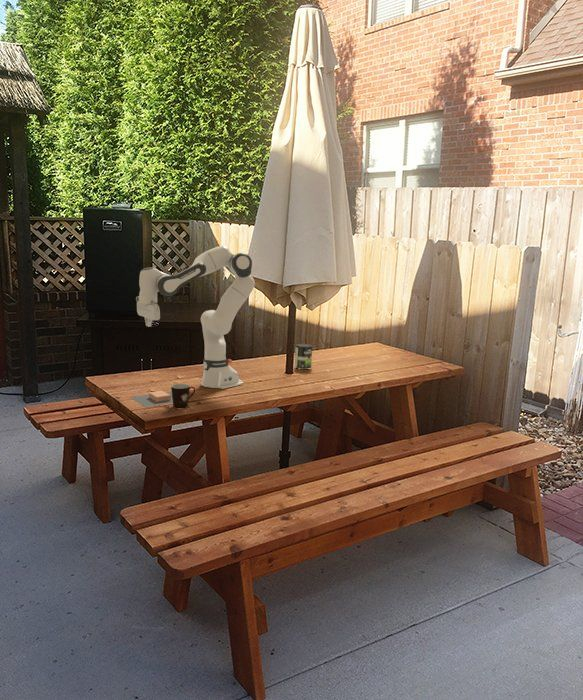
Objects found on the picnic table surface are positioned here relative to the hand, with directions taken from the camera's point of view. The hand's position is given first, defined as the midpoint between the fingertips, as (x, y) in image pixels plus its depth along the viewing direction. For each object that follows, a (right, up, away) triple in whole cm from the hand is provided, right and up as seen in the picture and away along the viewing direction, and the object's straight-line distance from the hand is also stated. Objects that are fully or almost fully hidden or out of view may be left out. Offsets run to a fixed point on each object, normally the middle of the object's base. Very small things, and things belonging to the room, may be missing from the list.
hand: (148, 326), depth 326 cm
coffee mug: (+23, -39, -28) cm, 53 cm away
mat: (+9, -36, -18) cm, 41 cm away
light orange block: (+7, -34, -16) cm, 38 cm away
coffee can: (+80, -23, +58) cm, 101 cm away
